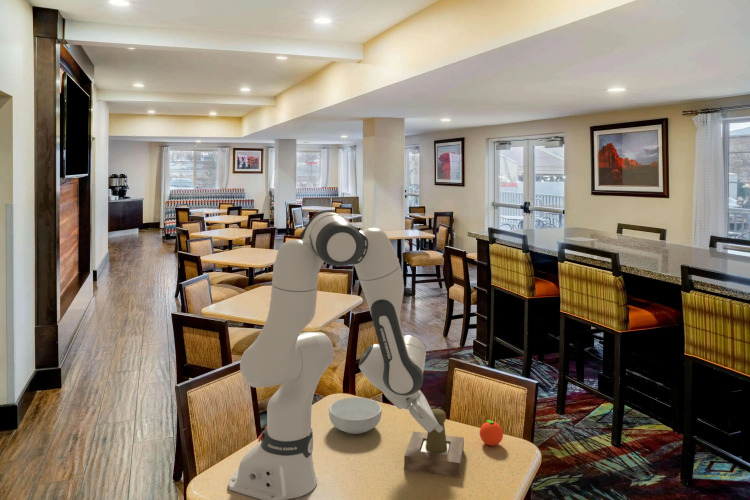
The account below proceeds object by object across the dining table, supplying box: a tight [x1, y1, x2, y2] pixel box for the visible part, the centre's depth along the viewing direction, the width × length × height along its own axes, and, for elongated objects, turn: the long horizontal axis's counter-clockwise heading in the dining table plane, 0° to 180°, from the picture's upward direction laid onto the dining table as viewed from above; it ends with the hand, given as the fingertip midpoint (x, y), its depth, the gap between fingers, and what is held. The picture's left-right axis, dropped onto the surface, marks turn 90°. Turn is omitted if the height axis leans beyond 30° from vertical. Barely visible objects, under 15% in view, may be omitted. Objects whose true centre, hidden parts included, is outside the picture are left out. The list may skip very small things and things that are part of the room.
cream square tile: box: [421, 440, 450, 455], centre depth 153 cm, size 7×7×1 cm
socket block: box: [403, 431, 465, 478], centre depth 154 cm, size 15×15×4 cm
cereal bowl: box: [328, 396, 383, 435], centre depth 172 cm, size 17×17×7 cm
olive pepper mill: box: [426, 408, 447, 453], centre depth 153 cm, size 6×6×11 cm
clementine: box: [479, 419, 504, 447], centre depth 164 cm, size 8×7×7 cm
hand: (438, 424), depth 152 cm, fingers closed on olive pepper mill, 5 cm apart
